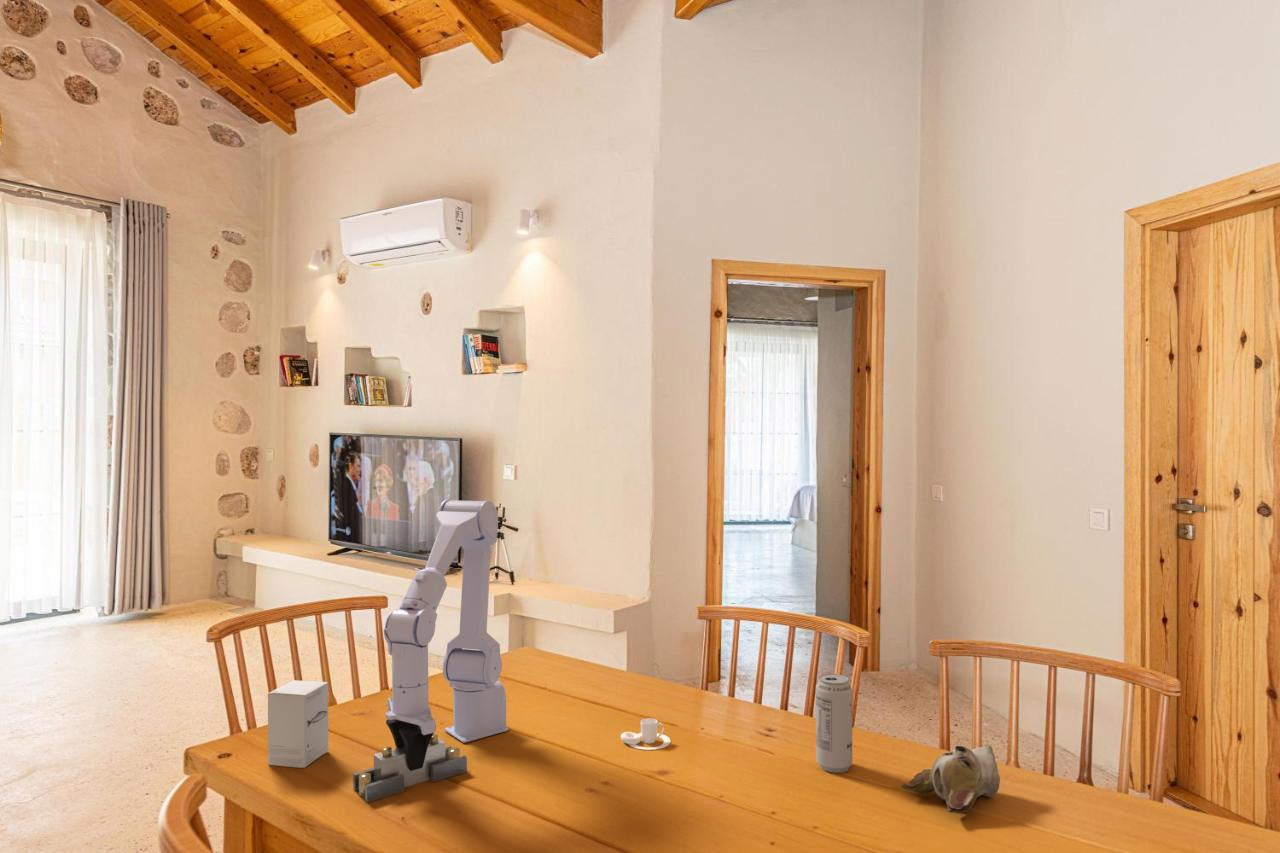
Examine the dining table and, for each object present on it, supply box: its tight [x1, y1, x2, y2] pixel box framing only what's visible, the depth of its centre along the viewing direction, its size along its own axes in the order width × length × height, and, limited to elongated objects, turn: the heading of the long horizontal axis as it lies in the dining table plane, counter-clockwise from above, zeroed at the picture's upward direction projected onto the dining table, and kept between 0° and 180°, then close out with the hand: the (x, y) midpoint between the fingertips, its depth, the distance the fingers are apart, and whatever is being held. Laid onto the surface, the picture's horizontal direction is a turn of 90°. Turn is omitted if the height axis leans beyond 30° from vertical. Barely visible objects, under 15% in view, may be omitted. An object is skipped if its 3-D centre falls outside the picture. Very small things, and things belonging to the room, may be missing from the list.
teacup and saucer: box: [620, 717, 672, 751], centre depth 150 cm, size 9×8×4 cm
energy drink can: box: [815, 673, 853, 774], centre depth 139 cm, size 6×6×15 cm
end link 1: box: [352, 767, 405, 804], centre depth 131 cm, size 6×6×3 cm
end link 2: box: [430, 745, 468, 783], centre depth 138 cm, size 6×6×3 cm
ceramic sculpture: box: [900, 744, 1001, 814], centre depth 127 cm, size 11×9×15 cm
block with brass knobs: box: [373, 733, 446, 788], centre depth 135 cm, size 11×3×6 cm, turn 129°
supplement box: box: [267, 679, 329, 769], centre depth 144 cm, size 7×7×13 cm
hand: (411, 764), depth 135 cm, fingers open, 3 cm apart
